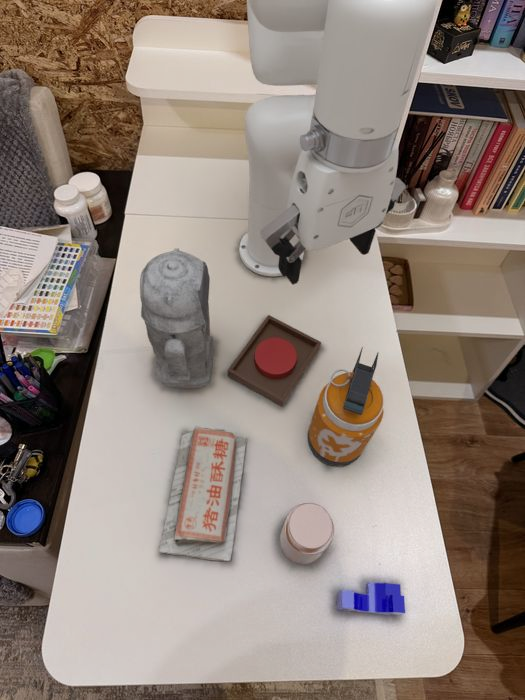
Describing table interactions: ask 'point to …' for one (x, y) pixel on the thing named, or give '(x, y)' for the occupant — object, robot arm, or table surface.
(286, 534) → the jar
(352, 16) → the robot arm
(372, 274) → the table surface
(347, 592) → the cable holder
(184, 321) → the figurine
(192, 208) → the table surface
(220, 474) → the packaged product
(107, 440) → the table surface
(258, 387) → the tray
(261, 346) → the lid
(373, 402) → the canister
